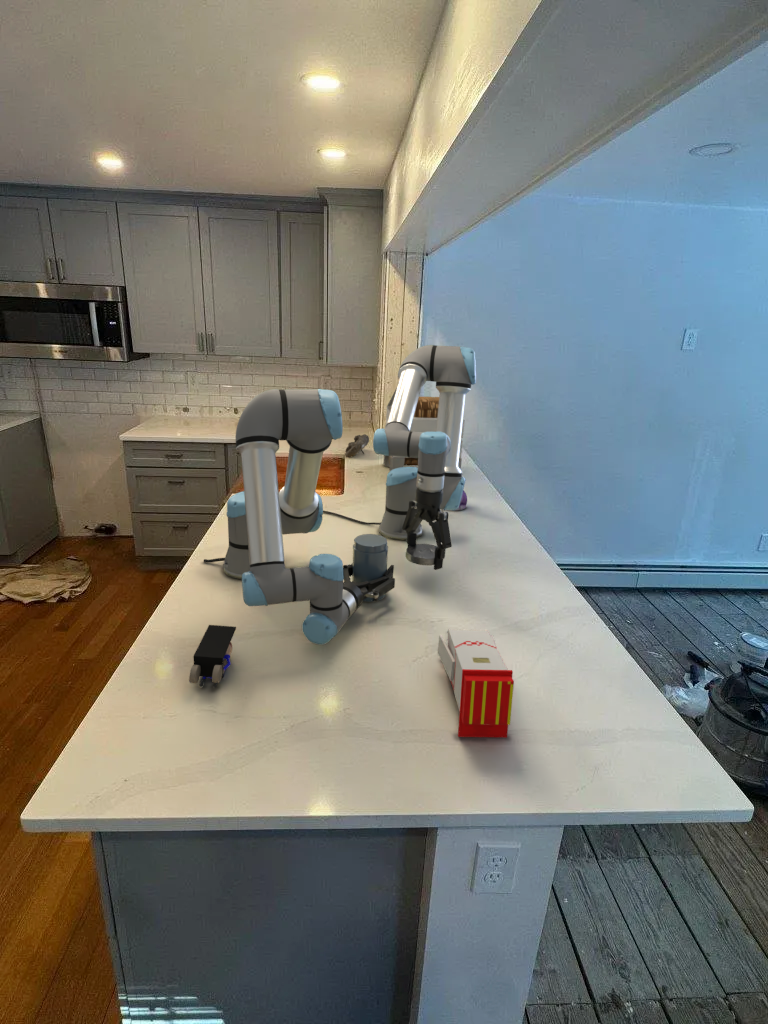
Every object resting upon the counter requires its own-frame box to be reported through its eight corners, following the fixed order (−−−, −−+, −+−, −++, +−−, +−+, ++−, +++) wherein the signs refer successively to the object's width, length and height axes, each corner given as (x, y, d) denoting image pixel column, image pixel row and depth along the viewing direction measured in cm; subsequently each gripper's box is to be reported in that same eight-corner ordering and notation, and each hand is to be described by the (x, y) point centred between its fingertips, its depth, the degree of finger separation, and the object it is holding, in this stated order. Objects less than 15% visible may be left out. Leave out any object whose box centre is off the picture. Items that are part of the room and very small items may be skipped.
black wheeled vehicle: (223, 699, 115) (239, 649, 128) (220, 670, 112) (236, 622, 125) (189, 698, 115) (209, 649, 128) (185, 669, 111) (206, 622, 125)
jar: (385, 586, 162) (388, 534, 157) (386, 602, 153) (388, 547, 148) (352, 585, 162) (353, 532, 156) (350, 601, 153) (352, 546, 147)
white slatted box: (382, 463, 289) (386, 382, 275) (445, 464, 293) (451, 384, 279) (390, 482, 257) (394, 392, 243) (460, 483, 261) (468, 394, 247)
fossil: (345, 440, 315) (366, 425, 310) (356, 453, 318) (377, 439, 313) (338, 454, 296) (361, 438, 291) (350, 468, 298) (372, 452, 293)
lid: (411, 566, 157) (411, 559, 157) (402, 551, 167) (402, 544, 167) (448, 564, 160) (448, 557, 159) (437, 549, 170) (437, 542, 169)
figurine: (453, 512, 223) (457, 475, 218) (439, 504, 231) (442, 469, 226) (473, 509, 227) (477, 473, 222) (459, 501, 236) (462, 467, 231)
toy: (488, 613, 130) (523, 677, 101) (484, 667, 133) (517, 744, 104) (435, 612, 130) (455, 676, 101) (432, 666, 133) (451, 743, 103)
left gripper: (302, 606, 144) (338, 570, 164) (384, 624, 137) (412, 585, 157) (302, 579, 141) (339, 547, 161) (386, 597, 134) (413, 561, 154)
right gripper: (392, 480, 163) (388, 550, 170) (449, 502, 146) (443, 579, 153) (412, 476, 167) (407, 545, 175) (469, 497, 151) (462, 572, 158)
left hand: (375, 566), depth 159 cm, fingers closed on jar, 9 cm apart
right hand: (424, 561), depth 164 cm, fingers closed on lid, 11 cm apart
